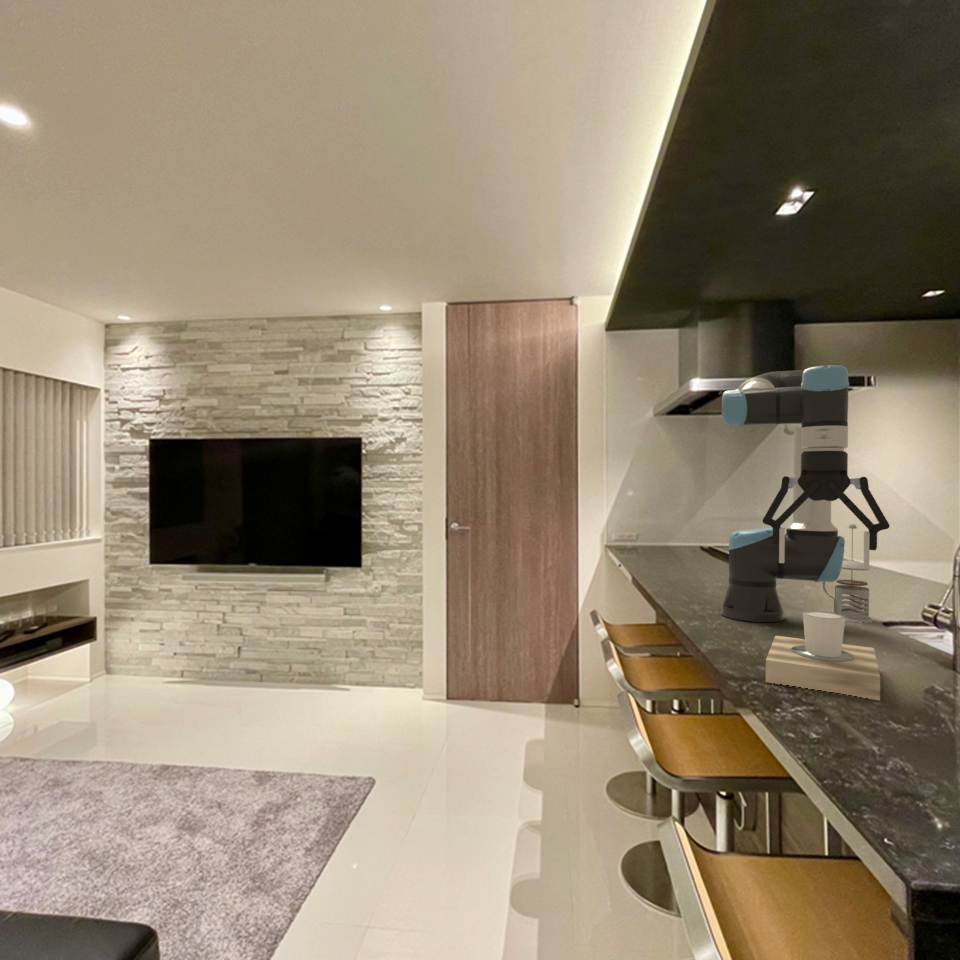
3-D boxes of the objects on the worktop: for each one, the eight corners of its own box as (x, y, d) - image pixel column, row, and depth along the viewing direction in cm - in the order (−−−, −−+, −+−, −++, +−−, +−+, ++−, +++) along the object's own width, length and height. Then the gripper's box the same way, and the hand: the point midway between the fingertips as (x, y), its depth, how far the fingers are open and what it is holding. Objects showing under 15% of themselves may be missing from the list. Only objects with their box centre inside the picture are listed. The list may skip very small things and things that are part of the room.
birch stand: (775, 655, 125) (775, 634, 125) (873, 668, 116) (873, 646, 116) (765, 682, 108) (765, 658, 108) (880, 700, 99) (880, 675, 99)
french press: (878, 624, 154) (879, 525, 154) (826, 620, 158) (827, 524, 158) (868, 616, 163) (869, 523, 163) (819, 612, 167) (820, 521, 167)
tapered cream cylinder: (851, 659, 108) (851, 619, 108) (809, 656, 109) (809, 617, 109) (836, 648, 115) (836, 611, 115) (797, 646, 116) (797, 609, 116)
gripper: (748, 450, 115) (747, 562, 115) (908, 448, 103) (906, 573, 103) (752, 452, 122) (751, 557, 122) (904, 450, 109) (902, 568, 109)
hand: (822, 565), depth 112 cm, fingers open, 13 cm apart
